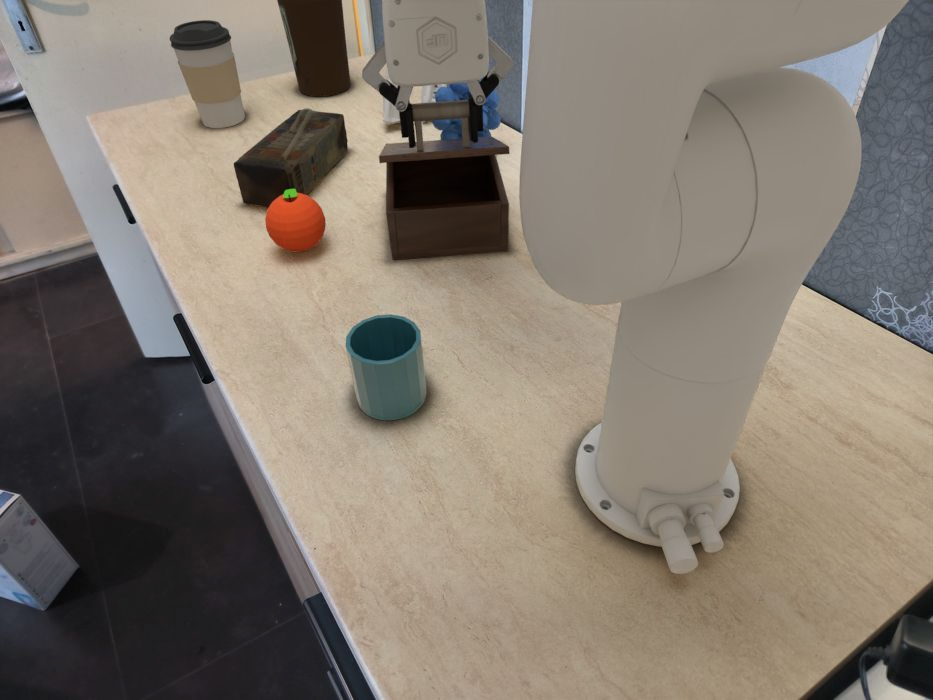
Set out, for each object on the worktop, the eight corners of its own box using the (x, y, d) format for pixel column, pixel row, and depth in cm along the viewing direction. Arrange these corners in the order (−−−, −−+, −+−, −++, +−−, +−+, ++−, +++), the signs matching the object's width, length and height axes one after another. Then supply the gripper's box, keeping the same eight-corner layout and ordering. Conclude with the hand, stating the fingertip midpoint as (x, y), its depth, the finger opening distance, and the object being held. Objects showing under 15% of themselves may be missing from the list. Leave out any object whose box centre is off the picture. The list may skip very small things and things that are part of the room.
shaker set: (386, 134, 103) (378, 61, 96) (376, 125, 106) (367, 53, 98) (453, 117, 107) (450, 46, 100) (441, 108, 110) (437, 39, 102)
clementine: (273, 232, 82) (259, 180, 78) (328, 224, 83) (318, 173, 78) (272, 267, 76) (257, 213, 72) (331, 258, 77) (320, 205, 73)
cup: (428, 417, 58) (422, 360, 53) (356, 423, 58) (343, 366, 53) (425, 368, 63) (419, 311, 58) (358, 373, 63) (347, 317, 58)
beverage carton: (352, 150, 99) (345, 107, 94) (295, 214, 85) (284, 168, 81) (304, 146, 101) (295, 103, 96) (241, 208, 87) (227, 162, 83)
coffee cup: (201, 111, 113) (172, 17, 102) (254, 107, 113) (230, 13, 103) (191, 132, 106) (158, 34, 96) (247, 128, 106) (221, 30, 96)
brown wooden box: (508, 251, 77) (509, 203, 73) (392, 260, 77) (386, 212, 72) (492, 187, 89) (492, 142, 85) (391, 195, 88) (386, 150, 84)
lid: (509, 153, 69) (507, 97, 67) (379, 163, 69) (373, 106, 66) (492, 142, 85) (490, 96, 82) (386, 150, 84) (381, 104, 82)
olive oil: (355, 75, 123) (333, -82, 106) (353, 96, 115) (328, -69, 99) (299, 78, 123) (267, -78, 106) (292, 100, 115) (257, -66, 98)
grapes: (451, 175, 92) (447, 90, 84) (426, 158, 96) (420, 75, 88) (517, 152, 97) (518, 69, 89) (490, 137, 101) (489, 56, 93)
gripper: (332, -35, 56) (363, 161, 68) (529, -49, 57) (526, 147, 69) (337, -50, 62) (364, 133, 74) (516, -63, 63) (515, 121, 75)
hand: (442, 138), depth 71 cm, fingers closed on lid, 6 cm apart
